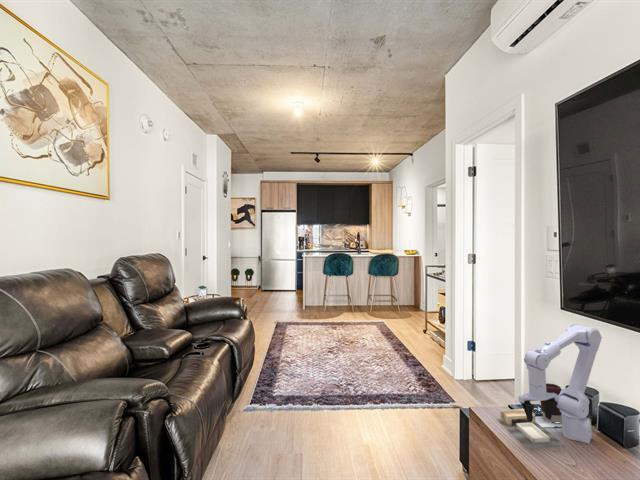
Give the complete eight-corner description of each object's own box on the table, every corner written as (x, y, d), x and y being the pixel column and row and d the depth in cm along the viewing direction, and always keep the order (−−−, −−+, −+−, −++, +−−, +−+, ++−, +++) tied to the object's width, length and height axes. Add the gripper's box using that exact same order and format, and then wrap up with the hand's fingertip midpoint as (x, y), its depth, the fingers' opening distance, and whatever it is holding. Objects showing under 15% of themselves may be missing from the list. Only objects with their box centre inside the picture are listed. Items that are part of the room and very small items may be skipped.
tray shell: (550, 443, 141) (550, 437, 141) (533, 443, 141) (533, 438, 141) (531, 427, 153) (531, 422, 153) (516, 428, 153) (516, 423, 153)
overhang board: (566, 448, 138) (565, 434, 138) (526, 450, 138) (525, 436, 138) (529, 419, 161) (529, 407, 161) (495, 420, 161) (495, 409, 161)
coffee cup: (534, 419, 161) (533, 385, 161) (548, 413, 165) (546, 380, 165) (558, 429, 152) (556, 392, 152) (571, 422, 157) (570, 387, 157)
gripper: (547, 378, 146) (549, 413, 145) (513, 381, 144) (514, 416, 144) (560, 385, 139) (562, 421, 138) (524, 388, 137) (526, 425, 137)
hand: (539, 419), depth 141 cm, fingers open, 7 cm apart
